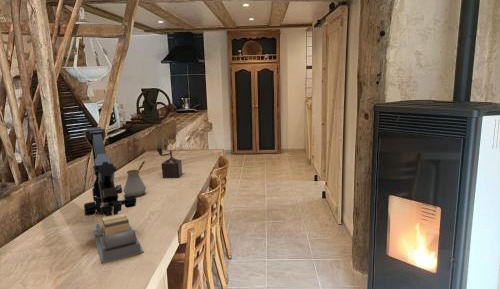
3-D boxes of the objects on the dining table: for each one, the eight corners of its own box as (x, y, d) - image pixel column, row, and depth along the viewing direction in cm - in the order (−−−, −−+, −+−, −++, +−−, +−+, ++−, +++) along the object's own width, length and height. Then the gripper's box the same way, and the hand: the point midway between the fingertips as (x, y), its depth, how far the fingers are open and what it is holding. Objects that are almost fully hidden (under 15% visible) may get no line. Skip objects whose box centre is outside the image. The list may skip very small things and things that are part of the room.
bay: (90, 232, 143) (88, 210, 142) (128, 224, 150) (126, 202, 149) (98, 264, 118) (95, 237, 117) (143, 252, 125) (141, 227, 123)
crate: (104, 242, 133) (101, 217, 131) (127, 236, 137) (124, 212, 135) (107, 250, 127) (104, 223, 125) (131, 244, 130) (128, 218, 129)
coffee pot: (140, 198, 183) (138, 170, 180) (119, 198, 184) (116, 170, 181) (156, 185, 204) (154, 160, 201) (137, 185, 205) (135, 160, 202)
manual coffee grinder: (183, 173, 228) (181, 145, 225) (178, 178, 217) (176, 149, 214) (159, 173, 229) (157, 146, 226) (154, 178, 218) (151, 150, 215)
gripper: (81, 182, 131) (87, 221, 123) (133, 174, 140) (141, 210, 132) (82, 197, 139) (87, 233, 132) (131, 188, 148) (139, 222, 140)
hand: (114, 224), depth 134 cm, fingers closed, pressing on crate
